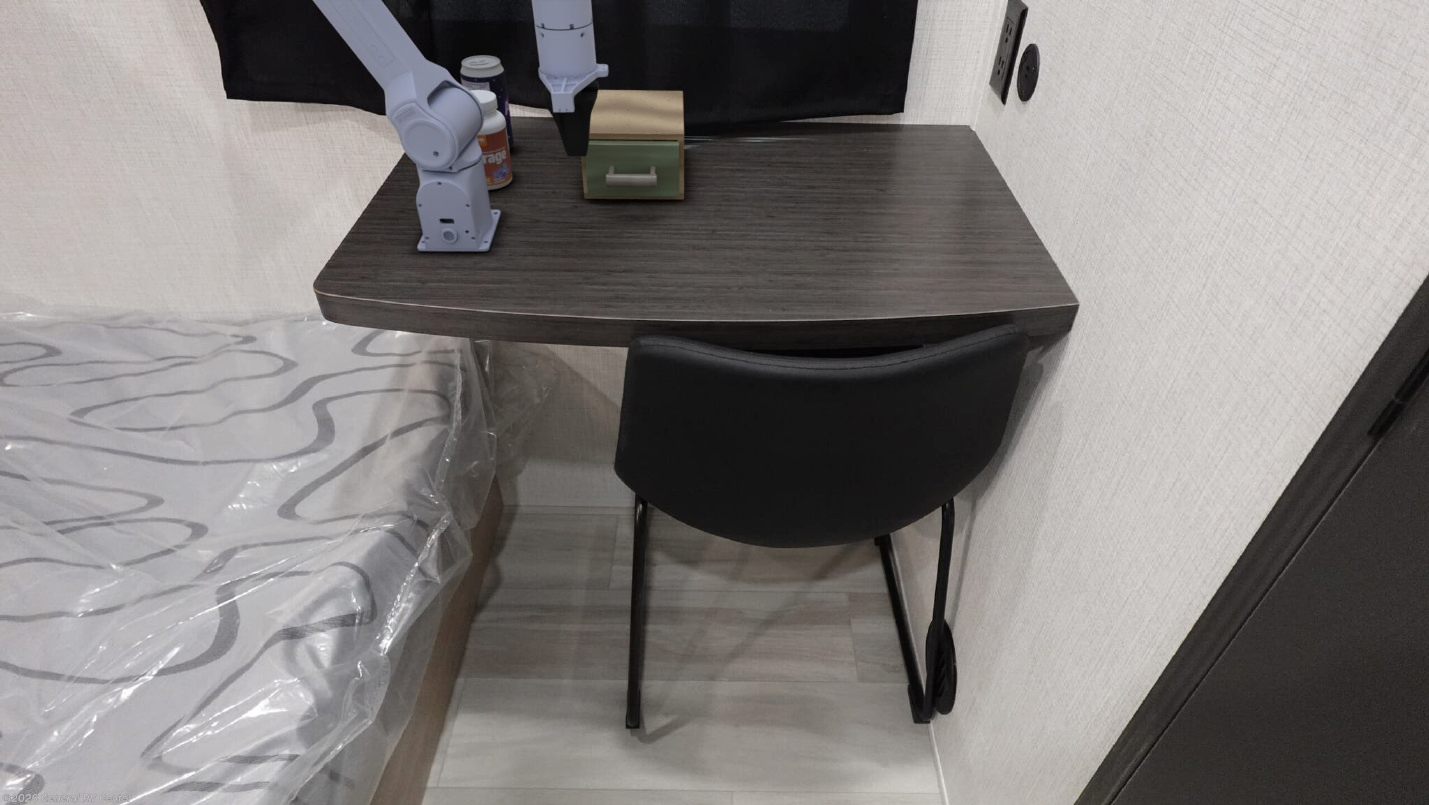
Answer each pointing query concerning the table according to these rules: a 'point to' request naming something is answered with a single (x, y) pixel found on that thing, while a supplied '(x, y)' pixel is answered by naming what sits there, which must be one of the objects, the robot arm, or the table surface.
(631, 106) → the cabinet
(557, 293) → the table surface
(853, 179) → the table surface
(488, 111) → the pill bottle
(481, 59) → the beverage can
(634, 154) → the drawer
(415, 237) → the table surface
